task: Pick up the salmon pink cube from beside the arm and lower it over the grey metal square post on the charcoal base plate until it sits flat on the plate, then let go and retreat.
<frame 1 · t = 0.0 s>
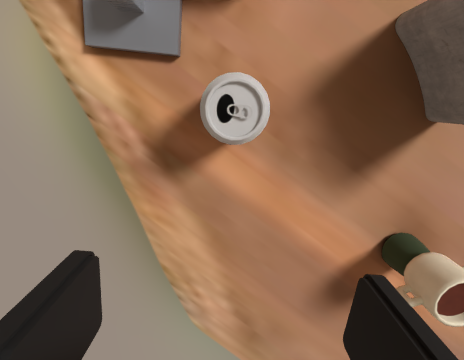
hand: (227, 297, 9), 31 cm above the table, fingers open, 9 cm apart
character mug: (396, 246, 44), on the table
post base: (135, 1, 34), on the table
hip flask: (424, 68, 36), on the table
can: (233, 107, 38), on the table
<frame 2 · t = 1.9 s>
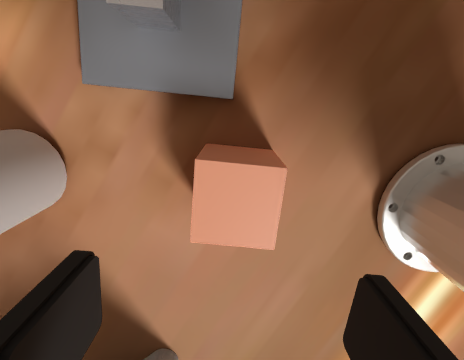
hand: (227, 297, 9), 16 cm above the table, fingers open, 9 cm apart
salmon pink cube: (236, 178, 24), on the table
post base: (164, 12, 21), on the table
can: (34, 168, 24), on the table
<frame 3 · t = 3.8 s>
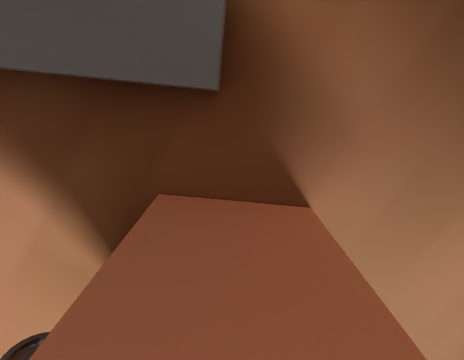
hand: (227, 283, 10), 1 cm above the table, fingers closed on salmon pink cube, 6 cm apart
salmon pink cube: (228, 266, 11), on the table, touching gripper
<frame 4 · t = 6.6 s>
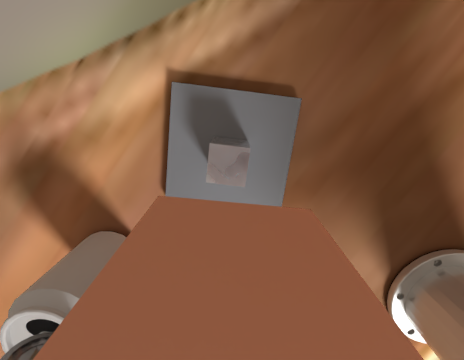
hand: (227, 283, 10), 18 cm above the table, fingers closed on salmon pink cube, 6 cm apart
salmon pink cube: (228, 267, 11), point 17 cm above the table, touching gripper
post base: (229, 151, 27), on the table
can: (114, 255, 31), on the table
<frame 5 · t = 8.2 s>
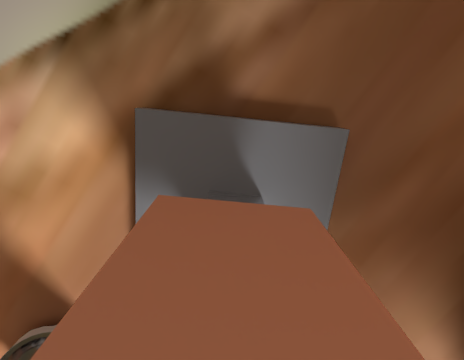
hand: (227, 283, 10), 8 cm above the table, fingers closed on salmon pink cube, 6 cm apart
salmon pink cube: (228, 267, 11), point 7 cm above the table, touching gripper
post base: (232, 208, 18), on the table
can: (70, 351, 21), on the table
when the fingers open (3 cm above the table, at t = 9.6 s): salmon pink cube stays where it is, resting on post base.
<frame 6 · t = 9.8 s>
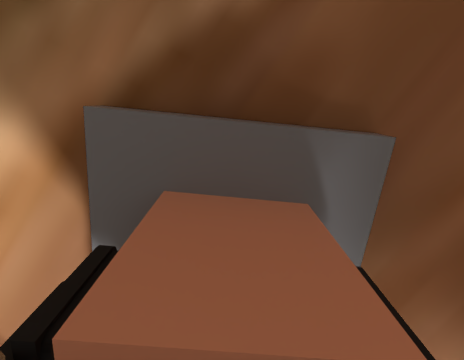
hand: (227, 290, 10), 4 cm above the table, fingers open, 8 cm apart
salmon pink cube: (229, 260, 12), point 1 cm above the table, touching post base
post base: (228, 241, 13), on the table
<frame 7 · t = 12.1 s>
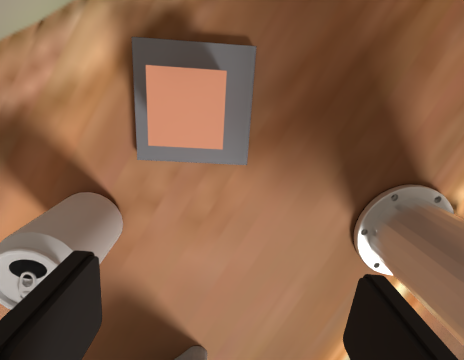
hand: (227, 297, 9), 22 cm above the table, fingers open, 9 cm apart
salmon pink cube: (194, 106, 27), point 1 cm above the table, touching post base
post base: (195, 105, 28), on the table
can: (95, 217, 32), on the table
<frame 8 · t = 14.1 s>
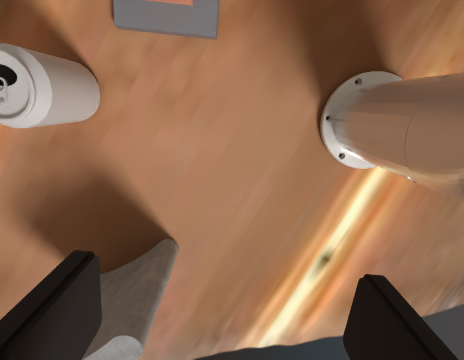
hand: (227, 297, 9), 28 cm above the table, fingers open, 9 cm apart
hip flask: (137, 266, 42), on the table
can: (75, 92, 34), on the table
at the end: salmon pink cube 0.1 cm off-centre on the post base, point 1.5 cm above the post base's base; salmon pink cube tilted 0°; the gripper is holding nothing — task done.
